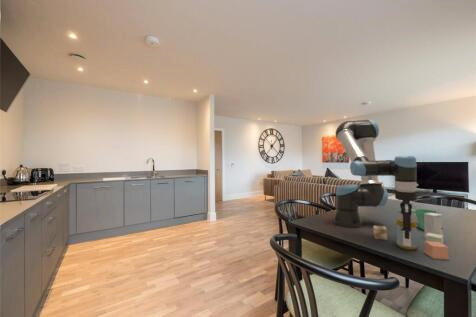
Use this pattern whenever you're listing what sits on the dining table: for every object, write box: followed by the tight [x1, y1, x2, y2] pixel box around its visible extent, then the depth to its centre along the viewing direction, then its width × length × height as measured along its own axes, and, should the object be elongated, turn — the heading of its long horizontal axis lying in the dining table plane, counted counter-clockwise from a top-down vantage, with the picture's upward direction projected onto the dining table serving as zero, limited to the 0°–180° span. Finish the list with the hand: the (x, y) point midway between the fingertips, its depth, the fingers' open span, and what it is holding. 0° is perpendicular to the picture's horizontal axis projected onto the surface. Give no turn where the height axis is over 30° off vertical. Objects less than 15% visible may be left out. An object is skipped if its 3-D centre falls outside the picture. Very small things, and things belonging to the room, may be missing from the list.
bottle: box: [395, 211, 418, 251], centre depth 92 cm, size 7×7×15 cm
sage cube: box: [425, 233, 444, 245], centre depth 93 cm, size 5×5×5 cm
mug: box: [411, 208, 440, 231], centre depth 116 cm, size 15×10×10 cm
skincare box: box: [424, 212, 444, 239], centre depth 101 cm, size 6×4×12 cm
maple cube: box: [372, 225, 388, 241], centre depth 104 cm, size 5×5×5 cm
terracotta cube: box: [423, 240, 449, 260], centre depth 84 cm, size 5×5×5 cm
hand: (406, 242), depth 92 cm, fingers closed on bottle, 6 cm apart
